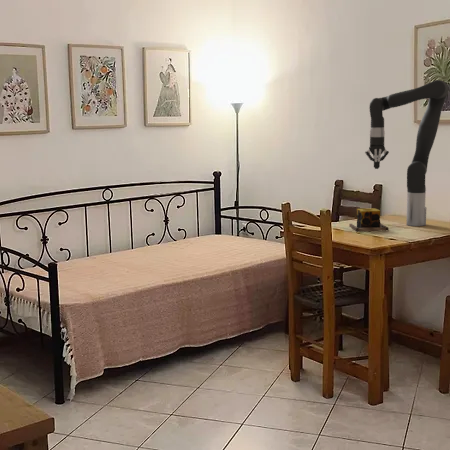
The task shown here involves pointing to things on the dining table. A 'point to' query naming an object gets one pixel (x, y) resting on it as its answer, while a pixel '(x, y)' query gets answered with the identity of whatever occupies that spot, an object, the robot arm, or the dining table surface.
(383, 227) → the walnut frame
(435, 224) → the dining table surface
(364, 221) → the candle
